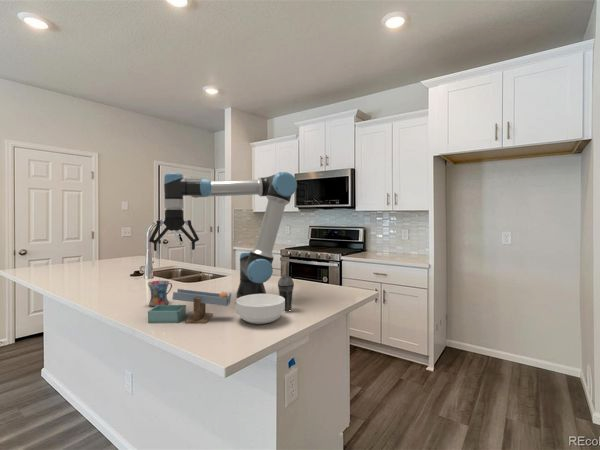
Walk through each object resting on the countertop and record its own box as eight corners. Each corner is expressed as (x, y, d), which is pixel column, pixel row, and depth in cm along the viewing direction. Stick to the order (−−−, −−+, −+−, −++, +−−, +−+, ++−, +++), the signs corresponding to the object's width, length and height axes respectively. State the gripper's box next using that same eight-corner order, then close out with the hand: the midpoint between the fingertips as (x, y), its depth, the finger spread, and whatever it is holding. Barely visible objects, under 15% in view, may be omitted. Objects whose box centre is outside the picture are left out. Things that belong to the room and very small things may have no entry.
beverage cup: (296, 309, 148) (296, 265, 148) (290, 313, 141) (290, 267, 141) (281, 307, 151) (281, 264, 150) (274, 311, 144) (275, 266, 143)
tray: (185, 315, 138) (185, 304, 138) (178, 322, 129) (178, 311, 129) (157, 315, 138) (157, 305, 138) (147, 322, 129) (147, 311, 129)
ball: (228, 299, 136) (228, 291, 136) (226, 302, 132) (227, 293, 132) (219, 299, 136) (219, 291, 136) (217, 302, 132) (218, 293, 132)
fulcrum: (212, 314, 140) (212, 292, 139) (206, 323, 129) (206, 299, 128) (193, 314, 139) (193, 292, 139) (185, 323, 128) (185, 299, 128)
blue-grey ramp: (233, 298, 144) (234, 288, 144) (227, 306, 131) (228, 296, 131) (182, 292, 143) (183, 282, 143) (172, 300, 130) (173, 289, 130)
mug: (156, 308, 148) (156, 285, 147) (143, 305, 152) (143, 283, 152) (178, 302, 158) (178, 280, 158) (165, 300, 163) (165, 278, 162)
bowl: (264, 332, 119) (264, 309, 119) (225, 322, 130) (225, 301, 129) (294, 318, 136) (294, 297, 136) (257, 310, 146) (257, 291, 146)
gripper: (204, 209, 149) (205, 255, 150) (144, 209, 143) (145, 257, 144) (203, 209, 142) (204, 257, 143) (140, 209, 136) (142, 260, 137)
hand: (175, 257), depth 143 cm, fingers open, 13 cm apart
